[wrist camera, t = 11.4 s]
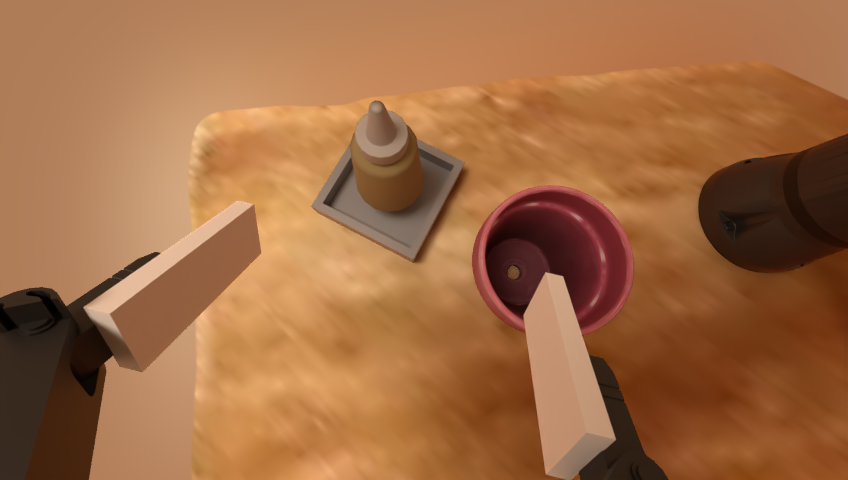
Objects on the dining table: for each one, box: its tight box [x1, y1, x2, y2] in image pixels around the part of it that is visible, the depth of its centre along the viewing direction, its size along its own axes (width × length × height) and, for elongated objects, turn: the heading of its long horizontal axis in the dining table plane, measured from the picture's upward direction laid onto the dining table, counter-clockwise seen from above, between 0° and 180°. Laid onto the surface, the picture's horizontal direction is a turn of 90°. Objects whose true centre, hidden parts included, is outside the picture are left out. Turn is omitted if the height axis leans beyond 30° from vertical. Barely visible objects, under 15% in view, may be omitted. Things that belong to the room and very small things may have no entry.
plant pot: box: [472, 186, 634, 335], centre depth 35 cm, size 14×14×13 cm
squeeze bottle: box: [350, 101, 424, 212], centre depth 33 cm, size 8×8×18 cm
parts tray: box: [311, 139, 465, 262], centre depth 41 cm, size 14×14×3 cm
